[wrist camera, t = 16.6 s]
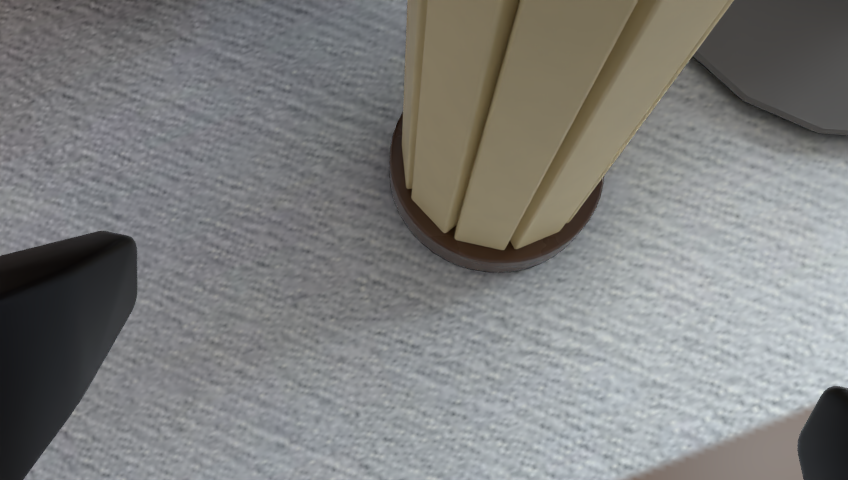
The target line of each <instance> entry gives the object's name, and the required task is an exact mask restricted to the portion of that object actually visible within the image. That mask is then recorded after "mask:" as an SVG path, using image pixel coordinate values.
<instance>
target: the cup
mask: <svg viewBox="0 0 848 480" xmlns="http://www.w3.org/2000/svg"><path fill="white" fill-rule="evenodd" d="M693 57H695V58H696V59H697V60H698V61H699V62H700V63H701V64H702V65H703V66H705V67H706V68H707V69H708V70H709V71H710V72H711V73H712V74H714V75H715V76H716V77H717V78H718V79H719V80H720V81H721V82H722V83H724V84H725V85H726V86H727V87H728V88H729V89H730V90H731V91H733V92H734V93H735V94H736V95H737V96H738V97H739V98H740V99H741V100H743V101H744V102H746V103H749V104H751V105H753V106H756V107H758V108H760V109H763V110H765V111H767V112H770V113H772V114H774V115H777V116H779V117H781V118H784V119H786V120H788V121H791V122H793V123H795V124H798V125H800V126H802V127H805V128H807V129H809V130H812V131H814V132H816V133H823V134H837V135H848V0H734V1H733V2H732V4H731V5H730V6H729V8H728V9H727V11H726V12H725V13H724V15H723V16H722V17H721V19H720V20H719V21H718V23H717V24H716V25H715V27H714V28H713V29H712V31H711V32H710V33H709V35H708V36H707V37H706V39H705V40H704V42H703V43H702V44H701V46H700V47H699V48H698V50H697V51H696V52H695V54H694V55H693Z"/></svg>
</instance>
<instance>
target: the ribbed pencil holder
mask: <svg viewBox="0 0 848 480" xmlns="http://www.w3.org/2000/svg"><path fill="white" fill-rule="evenodd" d="M733 1H734V0H407V25H406V51H405V76H404V101H403V126H402V152H403V162H404V172H405V182H406V188H407V189H412V196H411V198H412V200H413V201H414V202H415V203H416V204H417V205H418V206H419V207H420V208H421V209H422V211H423V212H424V213H425V214H426V215H427V216H428V217H429V218H430V219H431V220H432V221H433V222H434V223H435V224H436V226H437V227H438V228H439V229H440V230H441V231H442V232H443V233H447V232H448V231H450V230H451V229H452V228H453V227H454V226H456V225H457V226H456V230H455V235H454V238H455V239H456V240H458V241H463V242H467V243H472V244H476V245H481V246H485V247H490V248H494V249H499V250H505V248H506V246H507V245H508V243H509V241H511V243H512V245H513V247H514V249H519V248H521V247H524V246H526V245H529V244H531V243H533V242H536V241H538V240H541V239H543V238H545V237H548V236H550V235H553V234H555V233H557V232H559V231H560V230H561V229H562V228H563V226H564V225H565V223H569V222H570V221H571V220H572V218H573V217H574V216H575V214H576V213H577V212H578V210H579V209H580V207H581V206H582V205H583V203H584V202H585V201H586V199H587V198H588V197H589V195H590V194H591V193H592V191H593V190H594V189H595V187H596V186H597V185H598V183H599V182H600V180H601V179H602V178H603V176H604V175H605V174H606V172H607V171H608V170H609V168H610V167H611V166H612V164H613V163H614V162H615V160H616V159H617V158H618V156H619V155H620V154H621V152H622V151H623V149H624V148H625V147H626V145H627V144H628V143H629V141H630V140H631V139H632V137H633V136H634V135H635V133H636V132H637V131H638V129H639V128H640V127H641V125H642V124H643V122H644V121H645V120H646V118H647V117H648V116H649V114H650V113H651V112H652V110H653V109H654V108H655V106H656V105H657V104H658V102H659V101H660V100H661V98H662V97H663V95H664V94H665V93H666V91H667V90H668V89H669V87H670V86H671V85H672V83H673V82H674V81H675V79H676V78H677V77H678V75H679V74H680V73H681V71H682V70H683V69H684V67H685V66H686V64H687V63H688V62H689V60H690V59H691V58H692V56H693V55H694V54H695V52H696V51H697V50H698V48H699V47H700V46H701V44H702V43H703V42H704V40H705V39H706V37H707V36H708V35H709V33H710V32H711V31H712V29H713V28H714V27H715V25H716V24H717V23H718V21H719V20H720V19H721V17H722V16H723V15H724V13H725V12H726V11H727V9H728V8H729V6H730V5H731V4H732V2H733Z"/></svg>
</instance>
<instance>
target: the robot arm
mask: <svg viewBox="0 0 848 480" xmlns="http://www.w3.org/2000/svg"><path fill="white" fill-rule="evenodd" d="M136 298H137V247H136V243H135V241H134V240H133V238H132V237H130V236H127V235H122V234H117V233H113V232H108V231H98V232H94V233H90V234H86V235H82V236H78V237H74V238H70V239H66V240H62V241H58V242H54V243H50V244H46V245H42V246H38V247H34V248H30V249H26V250H22V251H18V252H14V253H10V254H6V255H2V256H0V480H23V479H24V478H25V476H26V475H27V474H28V472H29V471H30V470H31V468H32V467H33V465H34V464H35V463H36V461H37V460H38V459H39V457H40V456H41V455H42V453H43V452H44V451H45V449H46V448H47V446H48V445H49V444H50V442H51V441H52V440H53V438H54V437H55V436H56V434H57V433H58V432H59V430H60V429H61V427H62V426H63V425H64V423H65V422H66V421H67V419H68V418H69V416H70V415H71V414H72V412H73V411H74V409H75V408H76V406H77V405H78V404H79V402H80V400H81V399H82V397H83V396H84V394H85V392H86V391H87V389H88V387H89V386H90V384H91V382H92V380H93V379H94V377H95V375H96V373H97V372H98V370H99V368H100V366H101V365H102V363H103V361H104V359H105V358H106V356H107V354H108V352H109V351H110V349H111V347H112V345H113V343H114V342H115V340H116V338H117V336H118V335H119V333H120V331H121V329H122V328H123V326H124V324H125V322H126V321H127V319H128V317H129V315H130V314H131V312H132V310H133V308H134V305H135V302H136ZM798 456H799V461H800V465H801V470H802V474H803V479H804V480H848V388H844V387H839V386H833V387H830V388H828V389H826V390H825V391H824V392H823V394H822V395H821V397H820V399H819V400H818V402H817V404H816V406H815V408H814V409H813V411H812V413H811V415H810V417H809V418H808V420H807V422H806V424H805V426H804V427H803V429H802V431H801V433H800V436H799V439H798Z"/></svg>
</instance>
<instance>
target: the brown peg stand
mask: <svg viewBox="0 0 848 480" xmlns="http://www.w3.org/2000/svg"><path fill="white" fill-rule="evenodd" d="M402 126H403V112H402V114H401V116H400V118H399V120H398V122H397V124H396V127H395V130H394V133H393V136H392V141H391V146H390V161H389V175H390V185H391V190H392V195H393V199H394V202H395V204H396V207H397V209H398V212H399V214H400V215H401V217H402V219H403V221H404V222H405V224H406V225H407V227H408V228H409V229H410V231H411V232H412V233H413V235H414V236H415V237H416V238H417V239H418V240H419V241H420V242H421V243H422V244H423V245H425V246H426V247H427V248H428V249H430V250H431V251H432V252H433V253H435V254H437V255H438V256H440V257H442V258H443V259H445V260H447V261H449V262H452V263H454V264H456V265H458V266H462V267H465V268H468V269H472V270H477V271H483V272H499V273H501V272H512V271H518V270H522V269H527V268H530V267H533V266H535V265H538V264H541V263H543V262H545V261H547V260H548V259H550V258H552V257H554V256H555V255H556V254H558V253H559V252H561V251H562V250H563V249H564V248H565V247H567V246H568V245H569V244H570V243H571V242H572V241H573V240H574V238H575V237H576V236H577V235H578V233H579V232H580V231H581V230H582V228H583V227H584V226H585V225H586V223H587V222H588V221H589V219H590V218H591V216H592V214H593V212H594V211H595V209H596V207H597V204H598V201H599V199H600V196H601V192H602V188H603V183H604V176H603V178H602V179H601V180H600V182H599V183H598V185H597V186H596V187H595V189H594V190H593V191H592V193H591V194H590V195H589V197H588V198H587V199H586V201H585V202H584V203H583V205H582V206H581V207H580V209H579V210H578V212H577V213H576V214H575V216H574V217H573V218H572V220H571V221H570V222H569V223H565V225H564V226H563V228H562V229H561V230H560V231H559V232H557V233H555V234H553V235H550V236H548V237H545V238H543V239H541V240H538V241H536V242H533V243H531V244H529V245H526V246H524V247H521V248H519V249H514V247H513V245H512V243H511V241H509V243H508V245H507V246H506V248H505V250H499V249H494V248H490V247H485V246H481V245H476V244H472V243H467V242H463V241H458V240H456V239H455V238H454V235H455V230H456V226H457V225H456V226H454V227H453V228H452V229H451V230H450V231H448V232H447V233H443V232H442V231H441V230H440V229H439V228H438V227H437V226H436V224H435V223H434V222H433V221H432V220H431V219H430V218H429V217H428V216H427V215H426V214H425V213H424V212H423V211H422V209H421V208H420V207H419V206H418V205H417V204H416V203H415V202H414V201H413V200H412V198H411V196H412V189H407V188H406V182H405V172H404V162H403V152H402Z"/></svg>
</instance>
